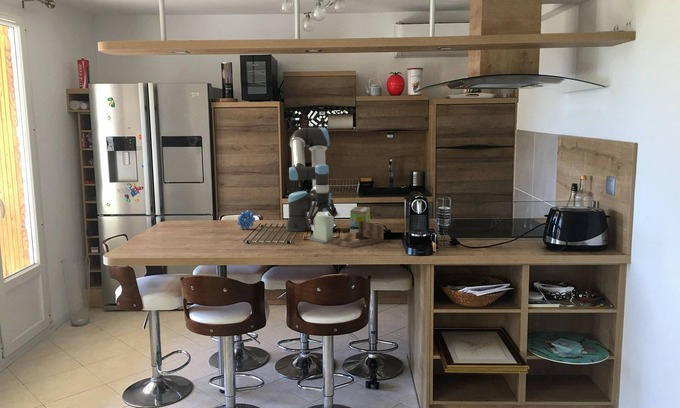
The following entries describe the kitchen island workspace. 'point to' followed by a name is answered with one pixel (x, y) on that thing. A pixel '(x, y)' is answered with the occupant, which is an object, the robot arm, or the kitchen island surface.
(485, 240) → the kitchen island surface
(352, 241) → the block
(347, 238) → the offcut short
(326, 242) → the mat
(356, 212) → the tea box
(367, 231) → the rack
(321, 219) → the tall block
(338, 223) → the kitchen island surface
